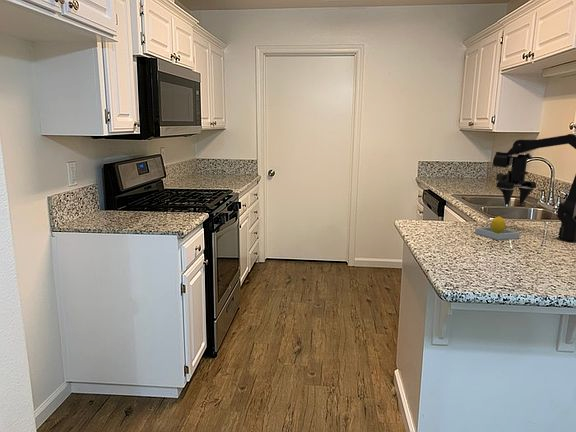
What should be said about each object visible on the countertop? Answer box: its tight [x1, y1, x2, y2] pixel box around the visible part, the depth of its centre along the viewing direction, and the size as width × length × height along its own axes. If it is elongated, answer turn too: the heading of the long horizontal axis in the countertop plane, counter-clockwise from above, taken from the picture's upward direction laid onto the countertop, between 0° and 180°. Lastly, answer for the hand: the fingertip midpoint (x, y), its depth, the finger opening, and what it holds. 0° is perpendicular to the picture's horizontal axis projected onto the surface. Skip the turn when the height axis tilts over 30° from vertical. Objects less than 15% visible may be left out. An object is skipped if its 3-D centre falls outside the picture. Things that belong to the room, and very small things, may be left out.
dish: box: [474, 226, 521, 241], centre depth 187 cm, size 12×12×2 cm
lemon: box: [490, 215, 506, 234], centre depth 187 cm, size 6×6×8 cm
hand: (513, 204), depth 198 cm, fingers open, 9 cm apart
